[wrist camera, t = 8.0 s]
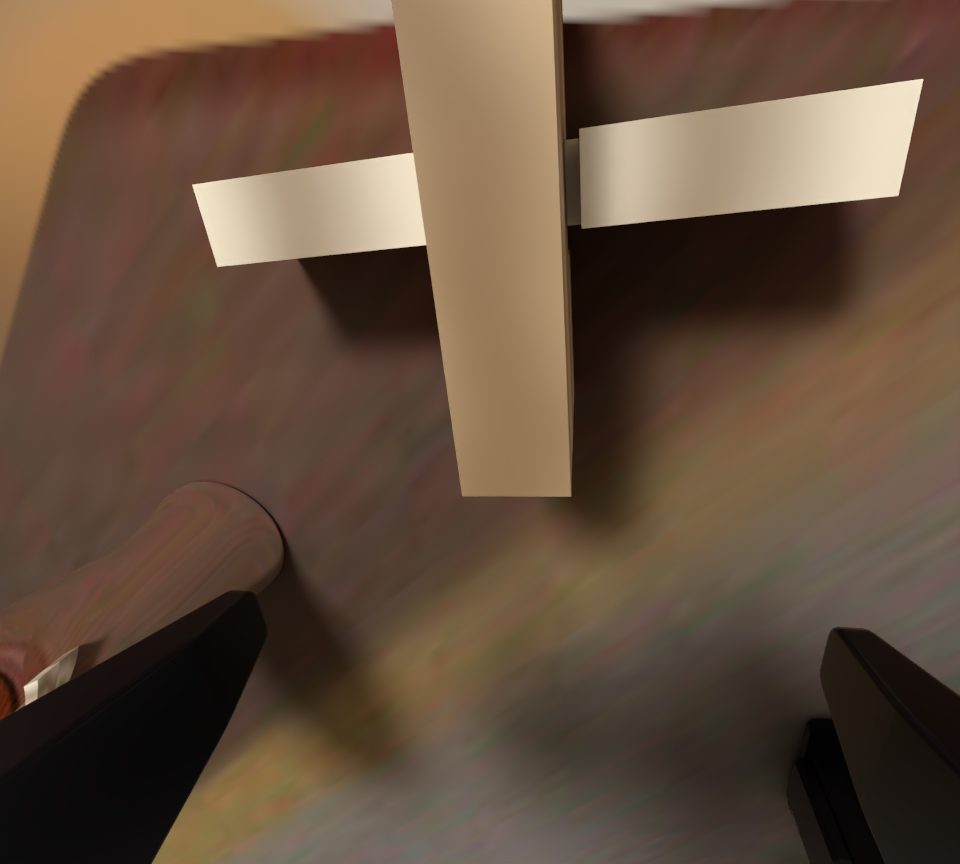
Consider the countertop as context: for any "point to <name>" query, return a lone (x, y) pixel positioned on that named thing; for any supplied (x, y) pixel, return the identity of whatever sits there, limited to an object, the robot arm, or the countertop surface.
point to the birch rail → (595, 176)
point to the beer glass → (137, 588)
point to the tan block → (496, 231)
